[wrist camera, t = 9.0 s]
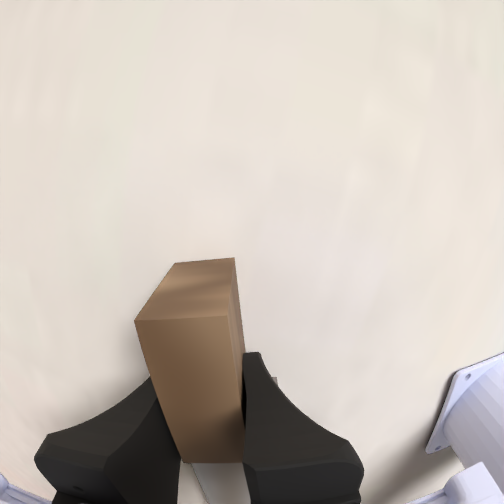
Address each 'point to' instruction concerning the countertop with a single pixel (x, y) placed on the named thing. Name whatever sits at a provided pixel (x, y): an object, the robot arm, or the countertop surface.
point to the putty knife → (200, 371)
